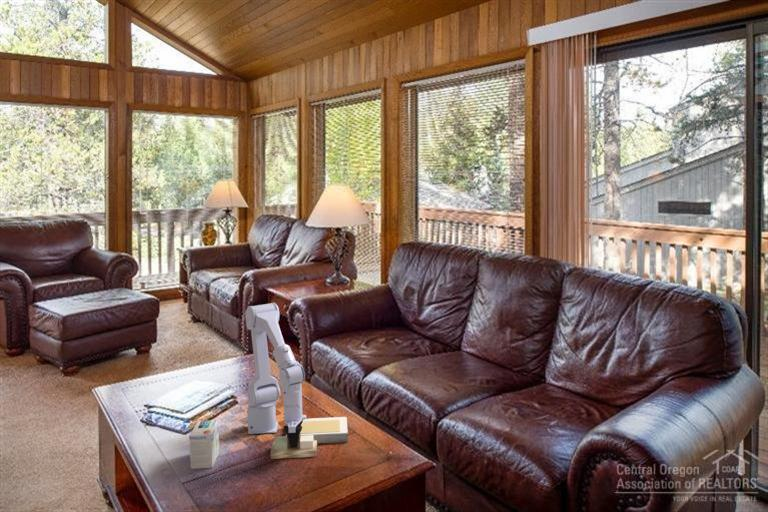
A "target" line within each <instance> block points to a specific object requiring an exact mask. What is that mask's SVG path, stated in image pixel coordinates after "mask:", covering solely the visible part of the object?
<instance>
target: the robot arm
mask: <svg viewBox="0 0 768 512" xmlns="http://www.w3.org/2000/svg"><path fill="white" fill-rule="evenodd" d="M244 313H245V325H246V329H247V330H250V333H251V334H250V335H251V343H252V351H253V352H252V353H253V363H254V364H253V365H254V371H255V377H253V379H252V380H251V381H250V382H249V383H248V392H247V398H248V402H249V404H248V406H247V417H246V418H247V434H249V435H255V434H276V433H277V431H278V427H279V421H277V416H276V415H277V413H276V404H278V401H279V400H280V398H281V390H282V395H283V396H282V397H283V400H282V401H283V422H284V423H285V425H283V431H284V433H285V434H286V435H287V437H288V440H289V444H290V447H291V448H295V447H297V446H298V439H299V434H300V432H301V430H302V426H301V424H302V422H303V420H305V419H307V415H306V414H303V393H302V392H303V390H302V389H303V388H302V383H303V382H305V379H306V374H305V370H304V367H303V365H302V364H301V363H299V361H298V360H296V358H295V356H294V355H295V354H294V353H293V351H292V349H291V346H290V345H288V344H286V343H285V340H284V337H283V335H282V331H281V328H280V324H279V321H280V309H279V306H278V305H277V303H275V302H271V303H265V304H257V305H249V306H248V307H246V310H245V312H244ZM267 337H268V338H267ZM268 339H269V341H270V343H271V345H272V346H273V348H274V349H273V351H272V355H273V359H274V361H275V362H276V365H277V368H278V369H279V374H278V379H279V382H280V385H279V382H278V379H277V378H276V377H275V376H272V375H271V368H270V359H269V358H270V355H269V348H268ZM280 388H281V389H280ZM286 435H285V436H286Z"/></svg>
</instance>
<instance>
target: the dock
mask: <svg viewBox="0 0 768 512" xmlns="http://www.w3.org/2000/svg"><path fill="white" fill-rule="evenodd" d="M301 426H302V430H301V436H304V435H313V437H314V440H317V445H318V444H334V443H335V444H336V443H348V442H349V434H348V433H349V431H348V417H347V416H335V417H315V418H313V417H312V418H306V419H305V420H303V422H302V424H301ZM285 436H287V435H285Z"/></svg>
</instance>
